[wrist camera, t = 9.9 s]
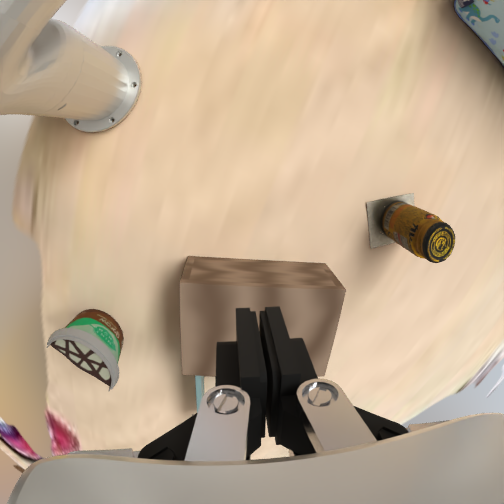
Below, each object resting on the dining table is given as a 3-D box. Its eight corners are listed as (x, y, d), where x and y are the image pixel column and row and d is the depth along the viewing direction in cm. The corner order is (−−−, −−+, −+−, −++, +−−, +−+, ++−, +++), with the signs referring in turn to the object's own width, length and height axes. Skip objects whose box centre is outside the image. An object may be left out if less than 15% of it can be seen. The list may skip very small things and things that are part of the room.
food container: (144, 332, 48) (130, 371, 38) (127, 354, 49) (112, 393, 40) (82, 287, 45) (56, 319, 35) (69, 312, 46) (43, 345, 36)
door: (190, 342, 48) (186, 370, 41) (203, 342, 48) (200, 371, 41) (194, 409, 53) (191, 437, 46) (204, 410, 53) (203, 438, 47)
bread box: (188, 338, 49) (182, 374, 40) (188, 256, 44) (179, 282, 36) (310, 341, 51) (324, 376, 42) (325, 263, 46) (345, 289, 38)
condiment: (415, 236, 46) (459, 263, 35) (370, 248, 46) (408, 279, 35) (412, 192, 44) (460, 209, 32) (365, 201, 44) (407, 221, 32)
